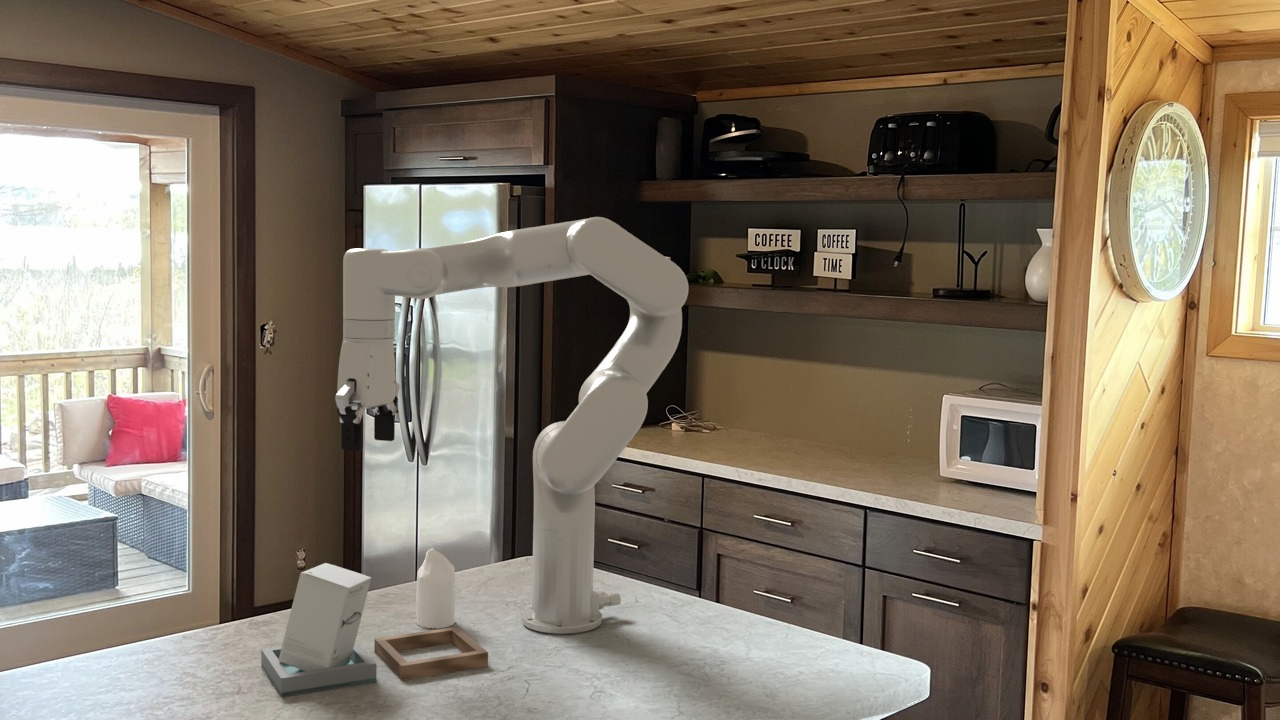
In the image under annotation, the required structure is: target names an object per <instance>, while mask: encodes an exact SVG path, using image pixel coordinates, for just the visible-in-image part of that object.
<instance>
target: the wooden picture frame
mask: <svg viewBox="0 0 1280 720" xmlns="http://www.w3.org/2000/svg"><path fill="white" fill-rule="evenodd" d="M450 644H451V645H453V646H454V647H455V648H456V649H458V650H459V651H460V652H461V653H456V654H449V655H444V656H436V657H431V658H424V659H423V658H421V659H417V660H411V661H407V660H406V659H405V658H404V657H403V655H401V654H400V652H405V651H409V650H410V651H411V650H416V649H417V650H418V649H423V648H431V647H437V646H443V645H450ZM374 653H375V655H377V657H378V658H379V659H380V660H381V662H383V663H384V664H385V665H386V666H387V668H389V669H390V670H391V671H392V673H394V674H395V676H397V677H398V679H399V680H400V681H407V680H413V679H419V678H424V677H425V678H426V677H431V676H438V675H443V674H450V673H455V672H456V673H457V672H462V671H467V670H474V669H475V670H476V669H479V668H486V667H488V666H489V652H488V651H487V650H486V649H484V647H482V646H481V645H480V644H478V643H477V642H476V641H475V640H473V639H472V638H471V637H470V636H468V634H466V633H465V632H464V631H463V630H461V629H460V628H459V627H458V626H453V627H452V626H451V627H445V628H437V629H432V630H425V631H424V630H423V631H418V632H412V633H405V634H398V635H391V636H390V635H389V636H384V637H377V638H374Z"/></svg>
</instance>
